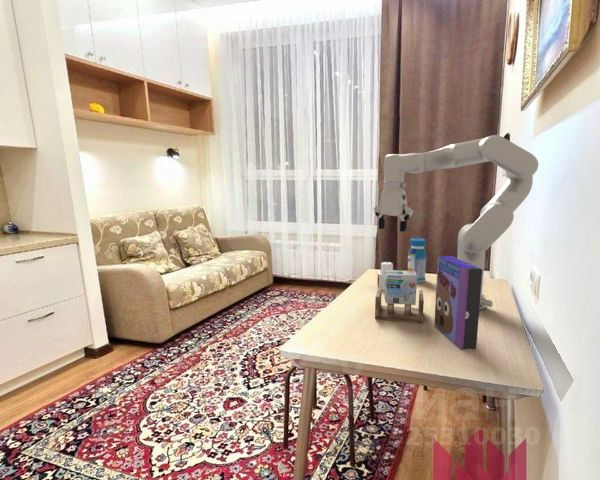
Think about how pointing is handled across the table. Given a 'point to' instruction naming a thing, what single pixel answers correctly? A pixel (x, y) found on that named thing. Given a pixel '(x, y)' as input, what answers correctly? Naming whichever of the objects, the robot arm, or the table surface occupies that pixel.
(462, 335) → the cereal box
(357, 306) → the table surface
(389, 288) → the light bulb box
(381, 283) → the medicine bottle
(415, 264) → the beverage bottle
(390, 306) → the peg stand
